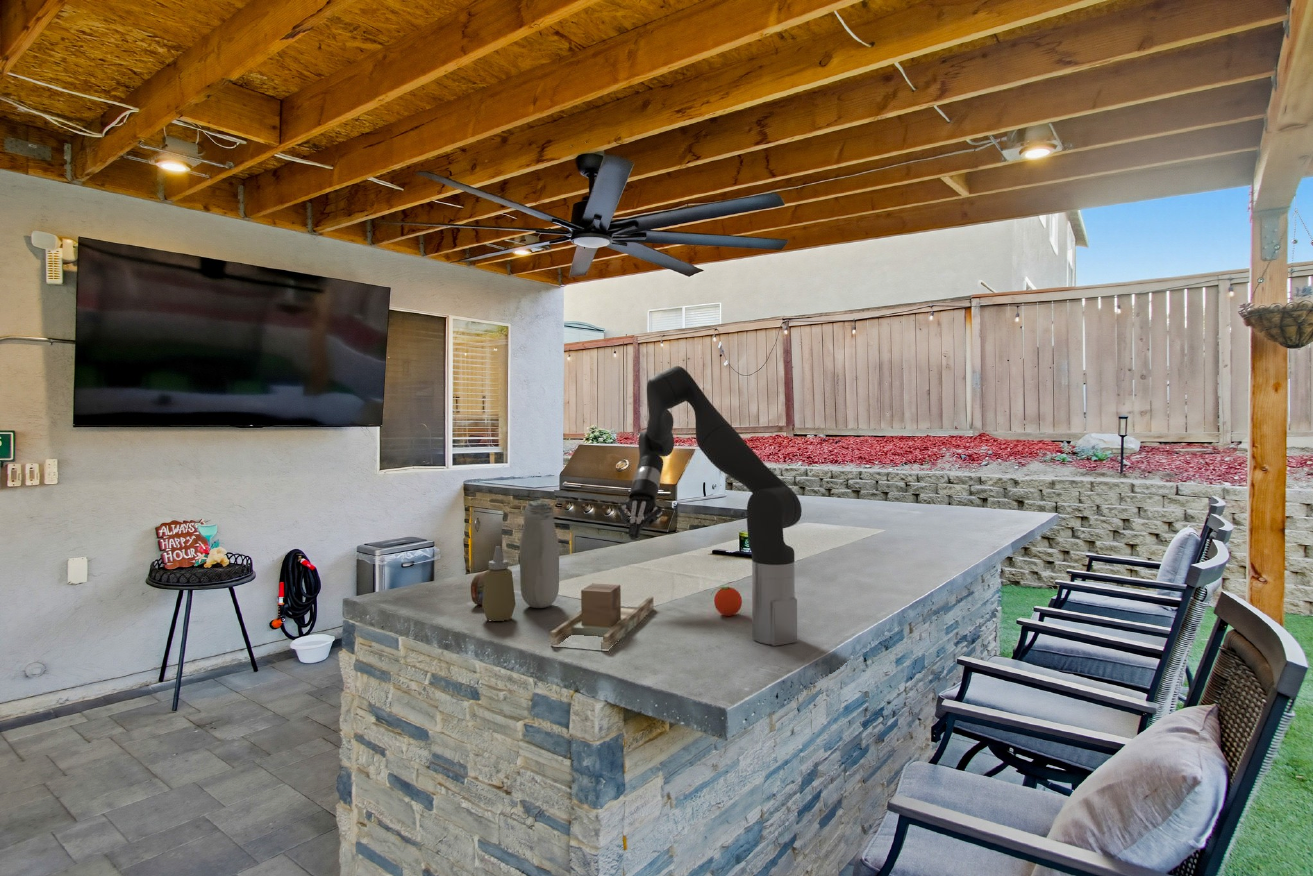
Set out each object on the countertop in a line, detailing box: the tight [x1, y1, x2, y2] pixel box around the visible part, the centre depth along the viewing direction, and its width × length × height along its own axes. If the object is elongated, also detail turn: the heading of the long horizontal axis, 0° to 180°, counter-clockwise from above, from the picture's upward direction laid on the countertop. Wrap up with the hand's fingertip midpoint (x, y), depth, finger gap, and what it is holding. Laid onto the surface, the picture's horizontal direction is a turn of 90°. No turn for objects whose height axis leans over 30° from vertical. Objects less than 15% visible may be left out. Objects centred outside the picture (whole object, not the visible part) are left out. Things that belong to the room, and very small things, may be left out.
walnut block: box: [580, 583, 622, 628], centre depth 156 cm, size 7×7×8 cm
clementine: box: [710, 586, 743, 617], centre depth 168 cm, size 8×7×7 cm
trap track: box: [550, 596, 654, 649], centre depth 159 cm, size 34×13×3 cm, turn 164°
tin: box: [470, 570, 487, 606], centre depth 184 cm, size 15×3×8 cm, turn 162°
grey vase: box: [519, 499, 560, 609], centre depth 177 cm, size 10×10×28 cm
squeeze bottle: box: [481, 545, 517, 622], centre depth 166 cm, size 8×8×18 cm
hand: (632, 538), depth 176 cm, fingers closed
